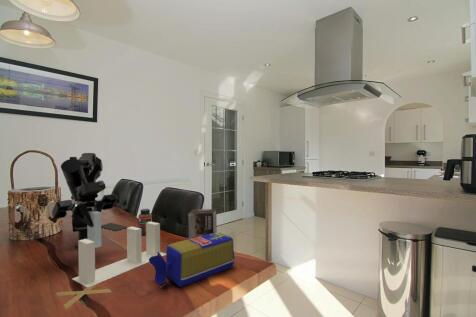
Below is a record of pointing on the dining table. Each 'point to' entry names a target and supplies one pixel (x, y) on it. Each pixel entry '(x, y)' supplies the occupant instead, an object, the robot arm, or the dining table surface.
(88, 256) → the domino
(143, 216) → the supplement bottle
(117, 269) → the row mat
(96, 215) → the domino
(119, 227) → the smartphone
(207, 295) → the dining table surface
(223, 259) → the bread
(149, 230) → the domino
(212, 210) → the coffee box
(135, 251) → the domino
